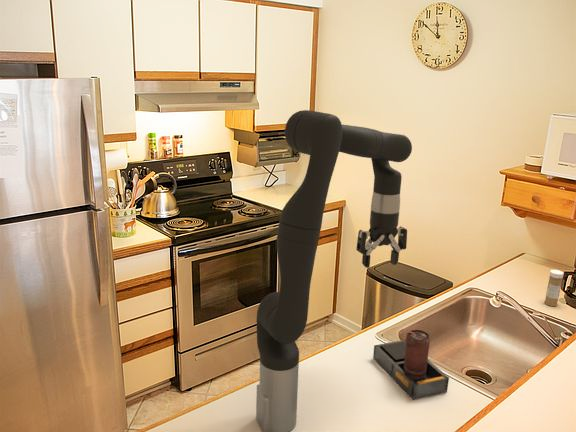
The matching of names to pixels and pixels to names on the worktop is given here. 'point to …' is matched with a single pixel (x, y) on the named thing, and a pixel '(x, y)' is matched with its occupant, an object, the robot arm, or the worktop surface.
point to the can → (416, 354)
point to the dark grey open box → (393, 365)
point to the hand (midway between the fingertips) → (380, 265)
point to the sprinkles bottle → (554, 287)
